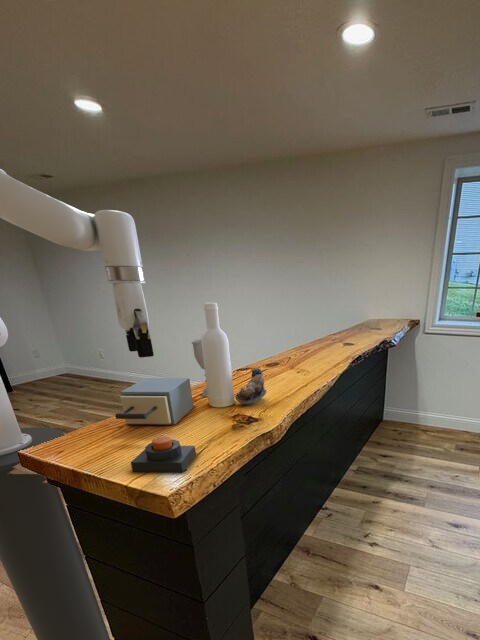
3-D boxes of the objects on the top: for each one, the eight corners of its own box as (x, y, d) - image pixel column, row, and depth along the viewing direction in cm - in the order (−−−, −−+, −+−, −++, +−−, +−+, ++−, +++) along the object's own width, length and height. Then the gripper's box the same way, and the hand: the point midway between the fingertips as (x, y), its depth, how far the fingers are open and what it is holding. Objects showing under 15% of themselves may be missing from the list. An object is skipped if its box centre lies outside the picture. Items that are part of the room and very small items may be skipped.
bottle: (230, 398, 115) (220, 302, 103) (238, 405, 109) (228, 303, 97) (206, 402, 111) (192, 302, 99) (212, 409, 105) (199, 303, 93)
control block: (132, 472, 69) (128, 454, 68) (150, 454, 77) (147, 437, 75) (182, 472, 69) (179, 454, 68) (196, 454, 77) (193, 438, 75)
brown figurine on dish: (251, 408, 106) (248, 376, 102) (231, 406, 108) (228, 374, 104) (270, 397, 116) (268, 368, 112) (251, 395, 118) (249, 366, 114)
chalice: (220, 391, 123) (214, 339, 116) (220, 396, 117) (213, 342, 110) (199, 392, 121) (191, 339, 114) (197, 397, 115) (189, 342, 108)
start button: (150, 451, 70) (148, 443, 69) (158, 443, 73) (156, 436, 73) (168, 451, 70) (166, 443, 69) (175, 443, 73) (173, 436, 73)
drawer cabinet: (174, 424, 93) (169, 392, 89) (127, 424, 93) (120, 391, 89) (193, 407, 106) (189, 378, 103) (152, 406, 106) (146, 377, 103)
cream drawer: (157, 434, 85) (151, 406, 82) (110, 434, 84) (103, 406, 82) (187, 407, 104) (184, 383, 101) (149, 407, 103) (145, 383, 101)
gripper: (100, 276, 81) (117, 350, 88) (114, 275, 69) (132, 361, 76) (135, 277, 86) (148, 347, 92) (154, 276, 73) (168, 357, 80)
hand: (141, 353), depth 84 cm, fingers open, 9 cm apart
